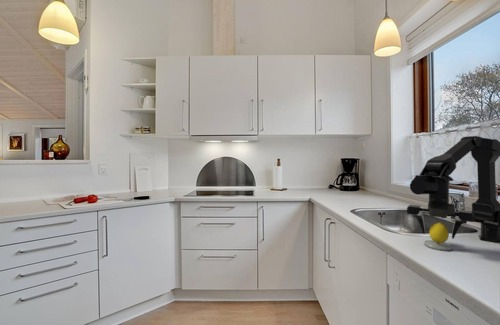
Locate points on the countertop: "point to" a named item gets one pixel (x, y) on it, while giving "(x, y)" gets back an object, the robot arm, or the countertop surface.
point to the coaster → (438, 245)
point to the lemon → (438, 233)
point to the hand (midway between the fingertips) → (437, 235)
